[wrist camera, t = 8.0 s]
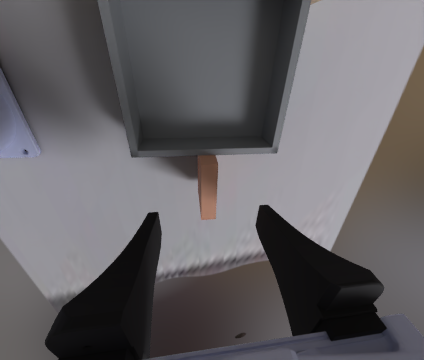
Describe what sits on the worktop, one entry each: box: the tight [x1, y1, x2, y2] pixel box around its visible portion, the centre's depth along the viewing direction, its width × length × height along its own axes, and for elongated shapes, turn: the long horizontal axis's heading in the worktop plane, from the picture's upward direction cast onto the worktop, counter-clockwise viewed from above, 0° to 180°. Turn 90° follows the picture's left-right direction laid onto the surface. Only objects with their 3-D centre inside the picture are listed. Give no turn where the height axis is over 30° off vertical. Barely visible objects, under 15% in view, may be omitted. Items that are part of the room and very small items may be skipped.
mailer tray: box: [97, 0, 311, 220], centre depth 13 cm, size 20×11×4 cm, turn 178°
